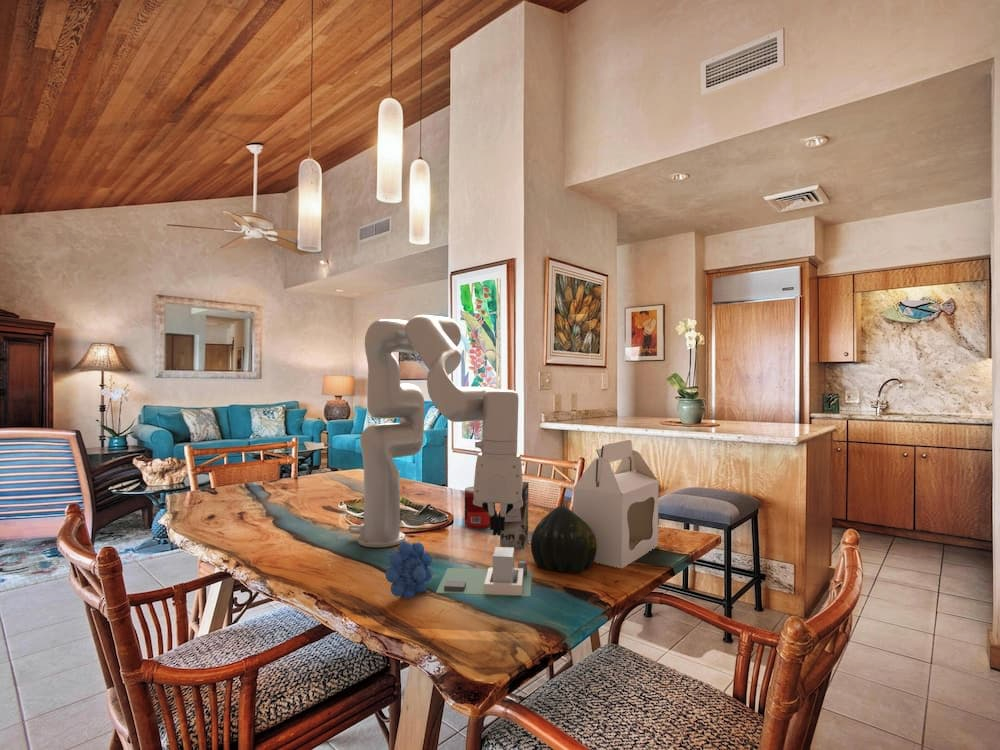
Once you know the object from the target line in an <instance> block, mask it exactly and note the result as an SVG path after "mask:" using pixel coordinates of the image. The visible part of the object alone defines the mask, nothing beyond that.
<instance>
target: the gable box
mask: <svg viewBox="0 0 1000 750" xmlns="http://www.w3.org/2000/svg"><path fill="white" fill-rule="evenodd" d="M595 451H596V454H597V455H598V457H596V458H594V459H593V460H592V461H591V462H590V464H589V465H588V467H587V468H586V470H585V471H584V472H583V474H582V475H581V477H580V478H579V479H578V481H577V482H576V484H575V485H574V486H573V490H572V491H573V495H572V496H573V497H572V499H573V501H572V502H573V504H572V505H573V507H572V508H573V511H572V512H573V513H575V514H576V515H577V516H578V517H580V518H581V519H582V520H583V521H584V522H585V523H586V524H587V525H588V526H589V527H590V528H591V529H592V531H593V533H594V535H595V538H596V543H597V550H596V556H595V559H594V562H593V563H595V562H596V563H597V564H599V563H600V565H603V566H609V567H612V566H613V567H612V568H616V567H617V569H620V568H622V569H623V568H626V567H627V566H629V565H630V564H632V563H633V562H635V561H637V560H638V559H640V558H642V557H643V556H645V555H646V554H648V553H649V551H650V552H651V551H653V550H655V549H656V548H658V547H659V480H658V479H657V477H656V476H655V475H654V473H653V472H652V470H651V468H650V467H649V466H648V464H647V463H646V461H645V459H643V457H642V455H641V453H640V452H638V451H636V450H634V449H633V441H632V440H631V439H626V440H623V441H617V442H612V443H607V444H603V445H602V446H601V448H598V449H595ZM620 460H621V461H620ZM616 461H620V463H619V464H618V466H617V468H616V470H615V473H614V472H613V470H612V469H613V468H612V467H611V465H610V463H612V462H616ZM636 541H637V542H636ZM657 546H658V547H657ZM652 549H653V550H652ZM628 564H629V565H628Z"/></svg>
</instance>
